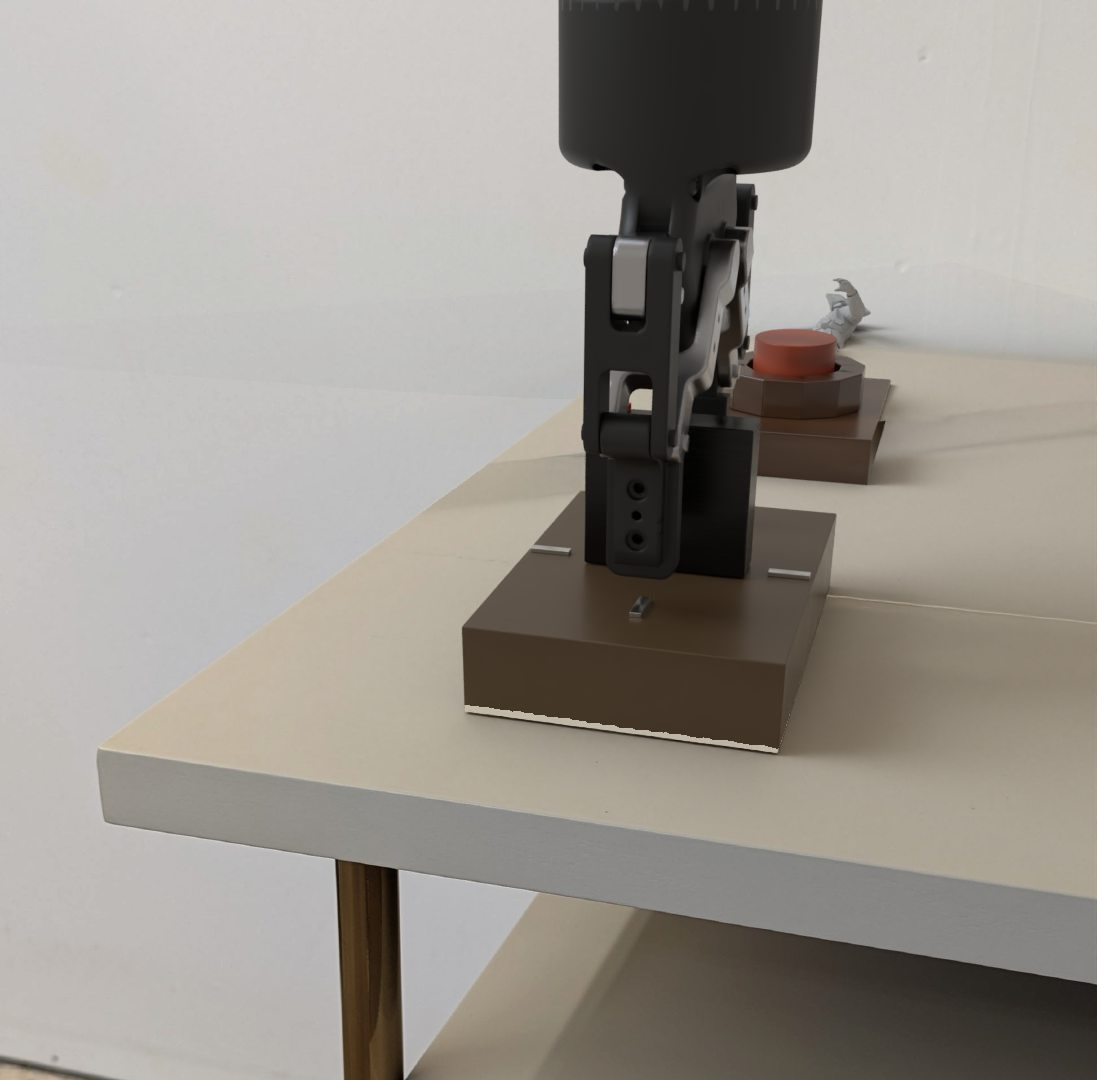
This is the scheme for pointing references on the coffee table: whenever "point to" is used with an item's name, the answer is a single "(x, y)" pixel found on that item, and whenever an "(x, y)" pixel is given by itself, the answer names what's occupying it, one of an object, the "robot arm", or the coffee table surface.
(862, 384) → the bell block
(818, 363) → the red push button
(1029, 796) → the coffee table surface
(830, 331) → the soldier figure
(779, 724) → the plate
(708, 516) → the battery-shaped black case
